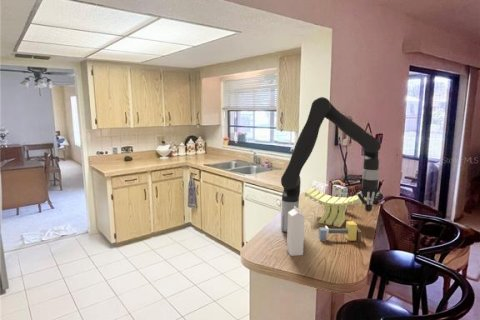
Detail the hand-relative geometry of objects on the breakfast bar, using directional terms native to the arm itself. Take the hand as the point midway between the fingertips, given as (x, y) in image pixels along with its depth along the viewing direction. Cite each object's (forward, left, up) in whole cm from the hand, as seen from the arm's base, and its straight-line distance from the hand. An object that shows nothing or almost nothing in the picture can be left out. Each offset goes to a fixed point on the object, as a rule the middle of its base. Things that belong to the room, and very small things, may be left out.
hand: (368, 211), depth 153 cm
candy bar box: (0, +49, -16) cm, 51 cm away
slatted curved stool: (-10, +28, -16) cm, 34 cm away
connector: (-23, 0, -15) cm, 27 cm away
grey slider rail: (-14, 0, -12) cm, 18 cm away
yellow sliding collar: (-8, 0, -15) cm, 17 cm away
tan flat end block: (-5, 0, -15) cm, 16 cm away
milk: (-39, -16, -16) cm, 45 cm away
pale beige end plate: (-21, 0, -13) cm, 24 cm away
